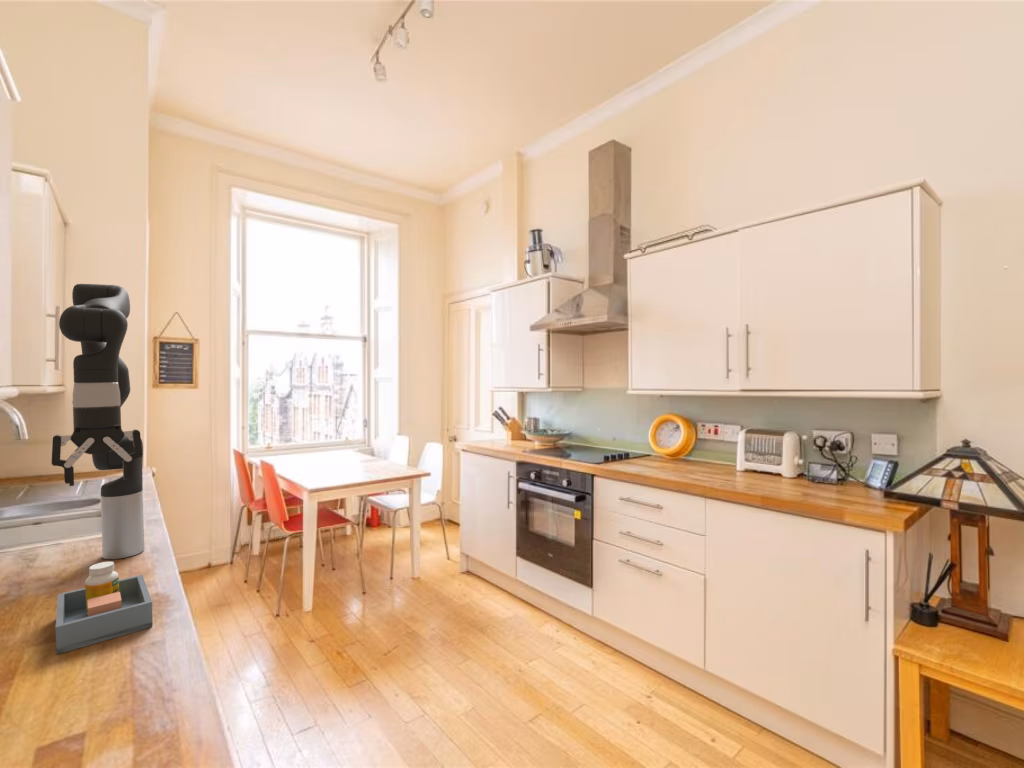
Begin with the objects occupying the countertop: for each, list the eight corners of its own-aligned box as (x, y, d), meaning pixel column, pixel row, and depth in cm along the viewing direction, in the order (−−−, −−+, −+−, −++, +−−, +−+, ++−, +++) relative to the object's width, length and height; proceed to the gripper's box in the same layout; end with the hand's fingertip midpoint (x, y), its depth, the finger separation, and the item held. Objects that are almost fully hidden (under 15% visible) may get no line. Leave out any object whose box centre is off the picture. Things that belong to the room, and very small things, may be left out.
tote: (58, 617, 100) (57, 594, 100) (142, 596, 110) (142, 574, 110) (56, 654, 87) (55, 627, 87) (152, 626, 97) (151, 602, 96)
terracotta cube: (88, 634, 92) (87, 608, 92) (88, 624, 96) (87, 599, 96) (122, 625, 95) (121, 600, 95) (120, 615, 99) (119, 591, 99)
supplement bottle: (88, 608, 102) (87, 563, 102) (121, 601, 105) (119, 558, 105) (83, 619, 98) (82, 572, 97) (117, 611, 101) (116, 566, 100)
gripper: (49, 407, 93) (51, 491, 93) (142, 403, 102) (144, 479, 103) (50, 405, 98) (53, 484, 99) (138, 402, 108) (140, 474, 108)
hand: (99, 482), depth 101 cm, fingers open, 8 cm apart
